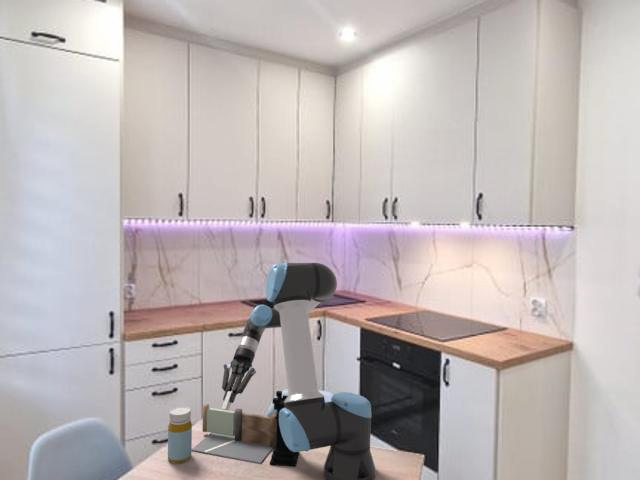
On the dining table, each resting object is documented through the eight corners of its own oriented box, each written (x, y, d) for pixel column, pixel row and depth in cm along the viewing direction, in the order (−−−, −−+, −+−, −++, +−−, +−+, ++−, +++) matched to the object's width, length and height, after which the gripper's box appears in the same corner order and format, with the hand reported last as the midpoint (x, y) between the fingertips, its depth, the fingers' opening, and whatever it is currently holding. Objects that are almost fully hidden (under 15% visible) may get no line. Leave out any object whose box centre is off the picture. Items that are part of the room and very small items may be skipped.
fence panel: (235, 434, 151) (235, 408, 151) (232, 436, 149) (233, 410, 149) (204, 429, 154) (204, 403, 154) (201, 431, 152) (201, 405, 152)
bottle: (191, 451, 142) (191, 405, 141) (191, 462, 135) (192, 414, 135) (167, 454, 140) (168, 407, 139) (167, 465, 133) (168, 416, 133)
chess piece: (299, 453, 142) (300, 391, 142) (295, 466, 134) (297, 401, 134) (274, 451, 143) (276, 390, 142) (269, 464, 135) (270, 400, 134)
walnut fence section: (278, 444, 147) (278, 414, 147) (275, 447, 145) (276, 417, 144) (236, 437, 151) (237, 408, 151) (233, 440, 149) (233, 410, 149)
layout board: (279, 439, 151) (279, 438, 151) (260, 463, 136) (260, 462, 136) (216, 429, 158) (216, 427, 158) (191, 450, 142) (191, 449, 142)
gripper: (264, 357, 174) (244, 417, 158) (233, 354, 177) (211, 412, 162) (258, 348, 168) (238, 408, 153) (227, 344, 172) (204, 403, 157)
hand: (224, 410), depth 157 cm, fingers closed
